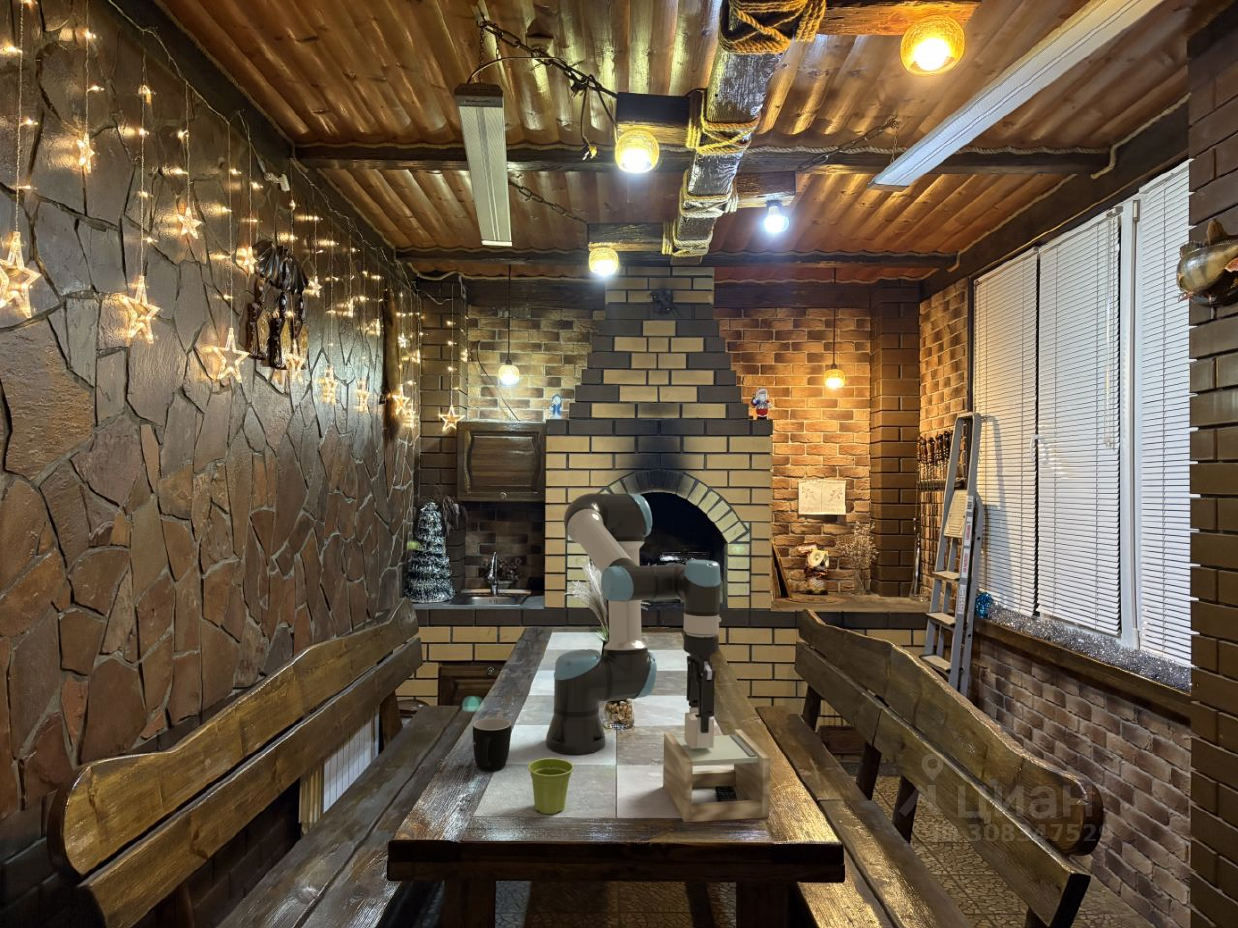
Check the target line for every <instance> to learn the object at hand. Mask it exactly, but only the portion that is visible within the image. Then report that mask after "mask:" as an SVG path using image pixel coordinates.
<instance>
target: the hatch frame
mask: <svg viewBox="0 0 1238 928" xmlns="http://www.w3.org/2000/svg"><path fill="white" fill-rule="evenodd" d="M672 733H673V732H671V731H667V732H663V765H662V766H663V770H662V773H663V774H662V787H663V789H664V790H665V792H666V794H667V796H668V798H670V800H671V803H672V804H673V805H674V807H675V809H676V811H677V812H678V815H679V816H680V818H681V819H682V821H683V822H684V823H694V822H708V821H709V822H711V821H725V820H740V819H741V820H743V819H759V818H770V803H771V802H770V799H771V798H770V796H771V795H770V793H771V791H770V790H771V757H770V756H769V755H768V754H767V753H766V752H764V750H763V749H762V748H760V746H759V745H758V744H757V743H755V741H754V740H752V739H751V738H750V736H749V735H747V733H746V732H744V731H743V730H742V729H741V728H740V729H734V734H735V735H736V736H737V737H738V738H739V739H740V740H741V741H742V742H743V743H744V744H745V745H746V746H747V747H748V748H749V749H750V750H751V751H752V752H753V753H754V754H755V755H756V756H757V757H758V761H757V762H755V763H737V764H733V769H717V770H714V769H713V770H696V771H694V770H693V767H694V766H693V762H692V760H691V759H690V758H689V756H688V755H687V754H686V752H685V751H684V750H683V748H682V747H681V746H680V744H679V743H678V741H677V740H676V739H675V738H676V737H675V736H674V735H673V734H672ZM728 786H736V787H737V789H738V790H739V791H740V792H741V793H742V795H743V796H744V797H745V799H746V800H732V801H731V800H730V801H729V800H728V801H714V802H695V803H693V788H707V787H708V788H710V787H728Z"/></svg>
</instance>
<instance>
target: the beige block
mask: <svg viewBox="0 0 1238 928" xmlns="http://www.w3.org/2000/svg"><path fill="white" fill-rule="evenodd" d="M695 714H698V712H692V713H689V712H685V713H684V736H683V737H684V741H685V742H686V743H687V745H688V746H689V747H690V749H697V747H696V731H697V718H696V717H695ZM714 736H715V718H714V717H710V747H709V748H714Z"/></svg>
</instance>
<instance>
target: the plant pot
mask: <svg viewBox="0 0 1238 928" xmlns="http://www.w3.org/2000/svg"><path fill="white" fill-rule="evenodd" d="M574 768H575V766H574V764H573V763H571V762H570V761H568V760H566V759H563V758H555V757H551V758H549V757H547V758H540V759H536V760H534V761H532V762H530V763H529V764H528V771H529V773H530V777H531V779H532V780H531V781H532V790H533V791H532V792H533V800H534V808H535V811H539V812H540V813H541V814H544V815H555V814H557V813H559V812H563V811H564V810H565V805H566V802H567V800H566V799H567V792H568V788H569V782H570V778H571V775H572V772H573V771H574Z"/></svg>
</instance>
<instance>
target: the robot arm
mask: <svg viewBox="0 0 1238 928" xmlns="http://www.w3.org/2000/svg"><path fill="white" fill-rule="evenodd" d="M563 524H564V525H563V526H564V530H565V533H566V534H567V536H568V537H569V538H570V540H571V541H572V542H575V543H576V544H579V545H580V546H581V547H582V549H583V551H584V552H585V553H586V555H587V556H588V557H589V558H590V560H591V561H592V563H593V564H594V565H595V567H596V569H598V571H599V573H600V574H601V578H600V589H601V591H602V596H603V597H604V598H605V600H607V601H608V629H609V631H608V633H609V634H608V637H609V641H608V642H607V643H606V644H605V645H604V646H603V654H602V655H601V653H600V651H599V650H596V649H592V648H590V649H589V648H588V649H585V648H584V649H583V648H582V649H575V650H571V651H568V652H564V653H562V654H561V655H560V656H558V657H557V659H556V660H555V665H554V673H553V678H554V685H553V686H554V687H553V715H552V718H551V721H550V724H549V725H548V729H547V732H546V740H545V741H546V742H545V745H546V747H547V748H548V749H550V750H551V751H553V752H556V753H559V754H560V753H561V754H566V755H585V754H591V753H595V752H598V751H601V750H602V749H603V748H604V747H605V746H606V735H605V734H606V733H605V731H604V727H603V724H602V719H601V717H600V702H611V701H621V700H635V699H639V698H645V697H648V696H649V695H650V694H651V693H652V691H653V690H654V689H655V685H656V682H657V678H658V677H657V676H658V675H657V672H658V667H657V665H658V664H657V662H656V658H655V655H654V654H653V652H650V651H649V650H648V645H647V644H646V643H645V641H643V638H642V609H641V608H642V606H641V605H642V604H641V601H648V600H649V601H651V600H652V601H653V600H654V601H655V600H656V601H657V600H675V599H676V600H682V601H684V605H683V606H684V607H683V608H684V611H683V631H684V632H685V633H684V634H683V644H682V645H683V649H682V650H683V651H684V652H686V653H687V654H690V655H687V656H686V667H687V669H686V670H687V671H686V701H687V702H688V706H689V709H688V710H689V711H688V713H692V712H698V714H695V717H696V718H697V731H696V747H697V748H709V747H710V717H712V718H714V716H715V683H716V682H715V681H716V680H715V679H716V674H717V673H716V672H717V671H716V669H713V662H712V661H711V656H712V655H716V654H717V653H718V652H719V649H720V648H719V647H720V638H719V637H720V636H719V635H718V633H719V631H720V622H722V618H721V617H720V608H721V607H720V605H721V604H720V603H721V582H722V579H721V569H720V568H721V567H720V566H721V565H720V564H719V562H717V561H714V560H706V559H692V560H688V561H687V562H686V564H683V563H680V562H678V563H675V562H670V563H667V564H665V565H661V564H660V565H640V549H641V548H642V547H643V546H644V544H645V538H646V537H647V536H649V535H650V534H651V532H652V526H653V516H652V511H651V507H650V504H649V503H648V501H647V500H646V498H645V497H644V496H642V495H641V494H636V493H630V492H629V493H628V492H627V493H626V492H625V493H597V492H596V493H595V492H594V493H591V492H590V493H585V494H582V495H580V496H578V497H576V498H575V499H574V500H572V502H571V503H570V504H569V505H568V507H566V511H565V512H564V516H563Z"/></svg>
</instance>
